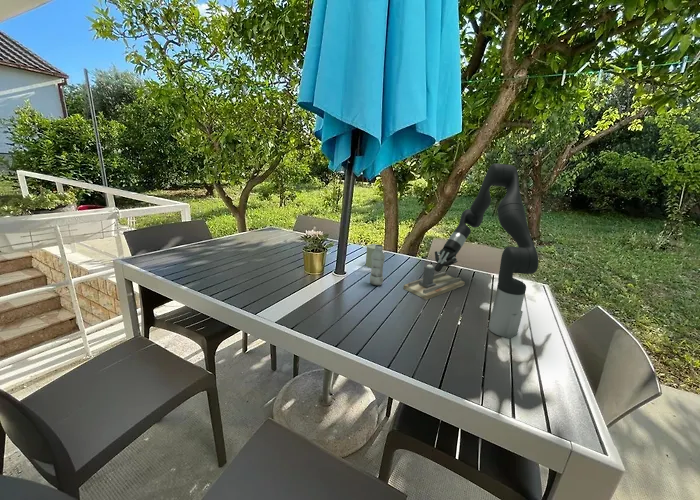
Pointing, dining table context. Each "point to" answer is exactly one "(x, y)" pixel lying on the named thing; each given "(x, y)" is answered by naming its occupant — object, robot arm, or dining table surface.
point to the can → (369, 254)
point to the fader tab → (428, 276)
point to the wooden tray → (442, 286)
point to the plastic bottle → (377, 265)
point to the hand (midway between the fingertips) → (436, 270)
